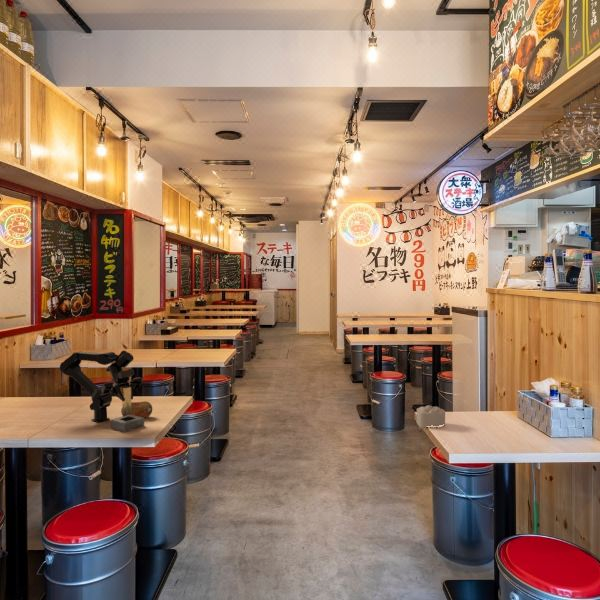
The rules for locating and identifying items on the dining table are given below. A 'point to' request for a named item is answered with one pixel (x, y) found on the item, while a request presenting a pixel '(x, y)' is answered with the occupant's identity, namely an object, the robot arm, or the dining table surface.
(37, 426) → the dining table surface
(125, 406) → the bushing
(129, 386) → the robot arm
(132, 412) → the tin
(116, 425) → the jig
